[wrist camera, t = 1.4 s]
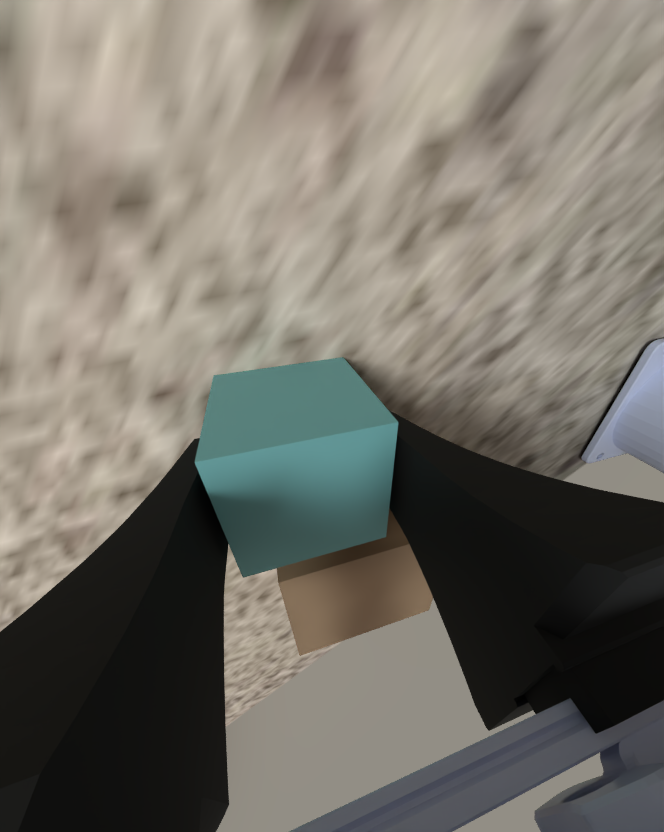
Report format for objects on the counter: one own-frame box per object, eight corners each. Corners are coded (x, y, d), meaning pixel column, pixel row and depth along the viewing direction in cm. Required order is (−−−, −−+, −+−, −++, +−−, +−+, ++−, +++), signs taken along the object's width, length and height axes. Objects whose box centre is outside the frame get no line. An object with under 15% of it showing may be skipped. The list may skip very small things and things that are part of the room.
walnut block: (415, 476, 15) (455, 530, 13) (402, 556, 20) (428, 610, 17) (271, 511, 14) (278, 582, 11) (290, 590, 18) (299, 655, 15)
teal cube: (342, 356, 10) (398, 421, 6) (344, 450, 13) (386, 536, 9) (213, 374, 9) (194, 462, 6) (243, 472, 12) (242, 577, 8)
